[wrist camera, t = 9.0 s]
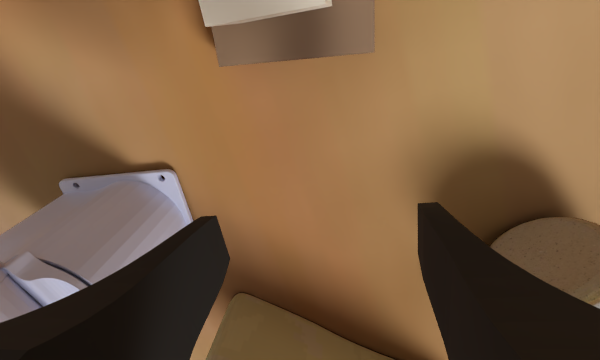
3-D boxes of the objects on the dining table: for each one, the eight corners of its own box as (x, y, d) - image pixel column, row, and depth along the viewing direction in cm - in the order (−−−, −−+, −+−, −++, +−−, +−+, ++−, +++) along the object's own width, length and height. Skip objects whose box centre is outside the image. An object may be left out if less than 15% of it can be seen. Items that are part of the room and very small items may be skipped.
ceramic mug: (574, 188, 20) (681, 283, 13) (625, 276, 22) (739, 395, 15) (415, 261, 24) (435, 360, 18) (470, 328, 26) (508, 438, 20)
